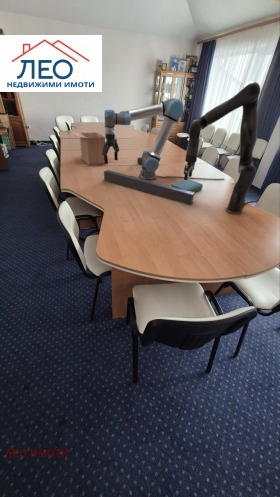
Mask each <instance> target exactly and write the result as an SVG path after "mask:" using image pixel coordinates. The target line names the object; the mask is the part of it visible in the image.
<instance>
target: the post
mask: <svg viewBox="0 0 280 497" xmlns="http://www.w3.org/2000/svg"><path fill="white" fill-rule="evenodd" d="M103 178H104V179H103V180H104V181H105V182H108V183H112V184H115V185H119V186H123V187H125V188H129V189H133V190H137V191H140V192H144V193H147V194H150V195H154V196H157V197H160V198H163V199H164V198H165V199H169V200H172V201H175V202H179V203H182V204H185V205H188V206H191V204H193V202H194V196H195V192H190V191H186V190H183V189H179V188H175V187H171V185H167V184H163V183H159V182H156V181H153V180H145V179H141V178H140V177H137V176H132V175H128V174H125V173H120V172H117V171H113V170H109V169H106V170H104V171H103Z"/></svg>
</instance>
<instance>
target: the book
mask: <svg viewBox="0 0 280 497" xmlns="http://www.w3.org/2000/svg"><path fill="white" fill-rule="evenodd" d="M170 186H171V187H175V188H179V189H183V190H186V191H190V192H194V193H196V192H198V191H201V190H203V187H204V184H203V183H201V182H198V181H195V180H192V179H190V178H187V180H184V179H182V180H179V181H177V182H176V181H175V182H173V183H171V184H170Z"/></svg>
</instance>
